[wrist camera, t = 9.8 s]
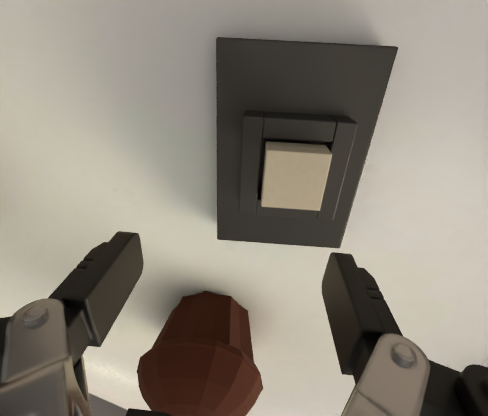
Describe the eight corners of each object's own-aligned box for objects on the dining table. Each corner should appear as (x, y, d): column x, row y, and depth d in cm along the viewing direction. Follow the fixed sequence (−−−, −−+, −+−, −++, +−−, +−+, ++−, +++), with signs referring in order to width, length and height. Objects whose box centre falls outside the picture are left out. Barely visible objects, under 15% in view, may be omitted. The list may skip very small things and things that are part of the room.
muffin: (145, 324, 31) (101, 426, 23) (186, 266, 26) (149, 369, 18) (231, 359, 34) (221, 463, 25) (283, 313, 29) (291, 423, 20)
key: (265, 140, 16) (266, 150, 15) (325, 144, 16) (332, 154, 14) (261, 193, 18) (261, 207, 16) (315, 197, 18) (319, 211, 16)
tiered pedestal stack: (221, 38, 17) (210, 35, 13) (383, 47, 16) (415, 45, 13) (220, 224, 24) (213, 254, 20) (333, 232, 23) (346, 264, 20)
